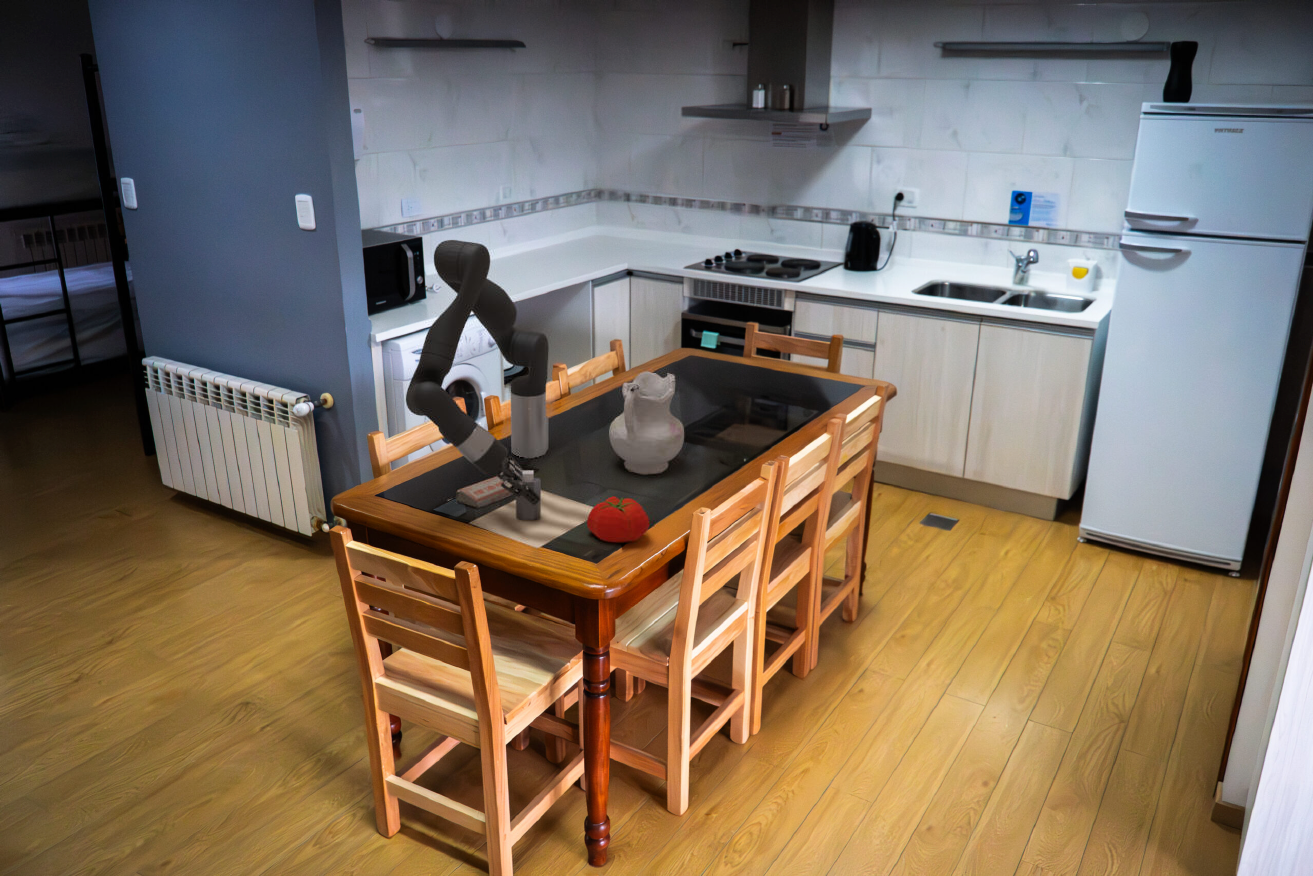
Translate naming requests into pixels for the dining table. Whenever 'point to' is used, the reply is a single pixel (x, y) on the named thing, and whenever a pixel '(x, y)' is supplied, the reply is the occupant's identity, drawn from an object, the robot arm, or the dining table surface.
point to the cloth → (536, 520)
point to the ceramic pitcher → (647, 425)
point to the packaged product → (483, 493)
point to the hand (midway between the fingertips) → (537, 498)
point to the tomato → (618, 520)
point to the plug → (523, 506)
